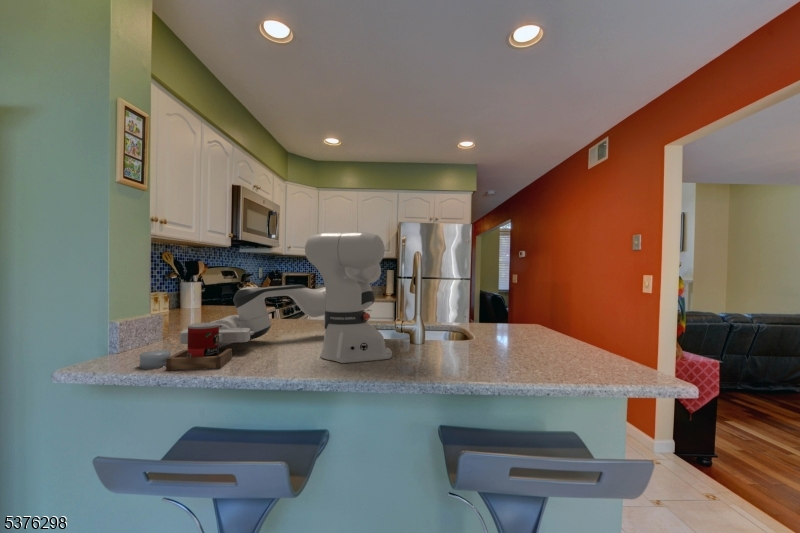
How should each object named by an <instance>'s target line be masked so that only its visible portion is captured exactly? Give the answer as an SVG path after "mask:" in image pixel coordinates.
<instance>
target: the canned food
mask: <svg viewBox="0 0 800 533" xmlns="http://www.w3.org/2000/svg"><path fill="white" fill-rule="evenodd" d="M187 328H188V344H187V350H188V357H209V356H218V355H220V353H219V351H220V350H219V349H220V348H219V347H220V346H219V324H218V323H205V322H197V323H191V324H188V326H187Z"/></svg>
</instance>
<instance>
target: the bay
mask: <svg viewBox="0 0 800 533" xmlns="http://www.w3.org/2000/svg"><path fill="white" fill-rule="evenodd" d="M232 350H233V348H226V349H225V350H223V352H221V353H219V355H218V356H209V357H188V349H182V350H181V351H179V352H177V353H175V354H173V355H170V357H169V358H167V359H166V366H165V370H166V371H175V370H174V369H186V370H205V369H204V368H212V369H221V368H222V367H223V366H224V365H226V364H227V363H228V362H230V361H231V360H232V357H233V351H232Z"/></svg>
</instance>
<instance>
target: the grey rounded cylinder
mask: <svg viewBox="0 0 800 533" xmlns="http://www.w3.org/2000/svg"><path fill="white" fill-rule="evenodd" d="M169 357H171V350H167V349H166V350H164V349H161V350H151V351H146V352H143V353H140V354H139V369H142V370H152V369H151V368H154V369H159V368H158V367H160V368H164V367H163V366H165V367H166V359H167V358H169Z"/></svg>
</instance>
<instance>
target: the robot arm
mask: <svg viewBox="0 0 800 533" xmlns="http://www.w3.org/2000/svg"><path fill="white" fill-rule="evenodd" d="M385 250H386V249H385V243H384V241H383V239H382V238H381V236H380V235H379V234H375V233H369V232H364V231H357V232H356V231H355V232H354V231H352V232H351V231H350V232H343V231H342V232H337V231H336V232H335V231H333V232H321V233H317V234H313V235H310V236H309V237H308V239H307V240H306V243H305V245H304V253H305V257H306V259H307V261H308V262H309V264H311V265H312V266H314V267H315V268H316V269H317V271H318V272H319V273H320V276H321V278H322V280H323V283H324V286H323V287H320V288H308V287H307V286H306V285H304V284H285V285H272V286H262V287H259V286H257V287H256V286H246V287H243V288H240V289H239V290H237V291H236V292H235V294H234V296H233V299H232V301H233V303H234V307H235V309H236V311H237V314H234V315H228V316H225V317H222V318H221V319H216V320H214V321H206V322H204V323H218V324H219V347H225V346H228V345H230V344H233V343H247V342H249V341H251V340H255V339H257V338H260V337H262V336H264V335H265V334H267V333H268V331H269V330H270V329H271V327H272V324H271V320H270V315H269V313H268V309H267V305H266V302H265V300H266V298H270V297H271V298H273V297H283V296H285V297H289V298H291V299H292V300H293V301H294V302H295V304H296V305H297V307H299V309H300V311H302V313H304V314H305V315H306V316H308V317H310V318H318V317H319V318H320V317H322V316H323V326H324V338H323V344H322V348H321V352H320V355H319V356H320V358H322V359H324V360H328V361H335V362H338V363H340V364H341V363H342V364H345V363H359V362H369V361H381V360H382V361H383V360H389V359H391V358H392V357H393V352H392V349H390V348H389V347H387V346H386V342H385V338H384V335H383V334H382V333H381V332H380V331H379V330H378V329H376V328H375V327H374V326H373V325H371V324H370V323H369V322H368V321H369V320H370V319H371V315H370V313H368V312H366V311H364V310H367V309H368V308H370V307H371V306H372V305H373V304H374V302H375V301H376V298H375V293H374V291H373V289H372V287H371V284H373V283H375V282H377V281H378V280H379V279H380V277H381V274H382V269H381V265H380V263H381V262H382V260H383V259H384V255H385ZM179 343H180V344H182V345H184V344H186V345H188V327H187V328H185V329H182V331H180V333H179Z"/></svg>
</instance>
